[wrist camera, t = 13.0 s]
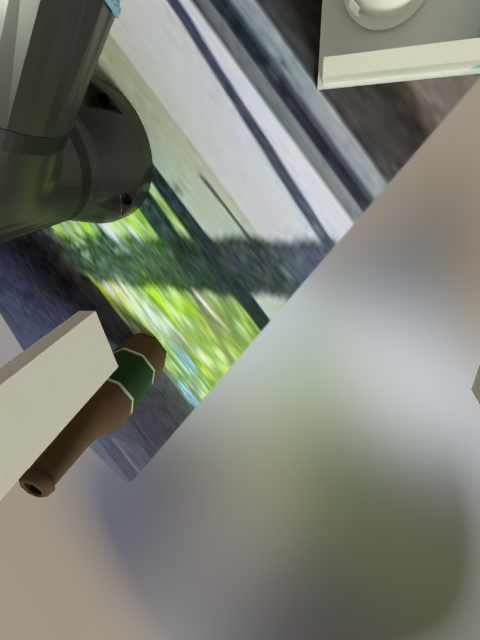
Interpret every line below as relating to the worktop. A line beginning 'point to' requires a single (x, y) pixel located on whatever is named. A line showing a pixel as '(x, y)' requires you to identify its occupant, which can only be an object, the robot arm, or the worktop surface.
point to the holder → (399, 45)
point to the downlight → (381, 12)
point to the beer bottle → (99, 412)
